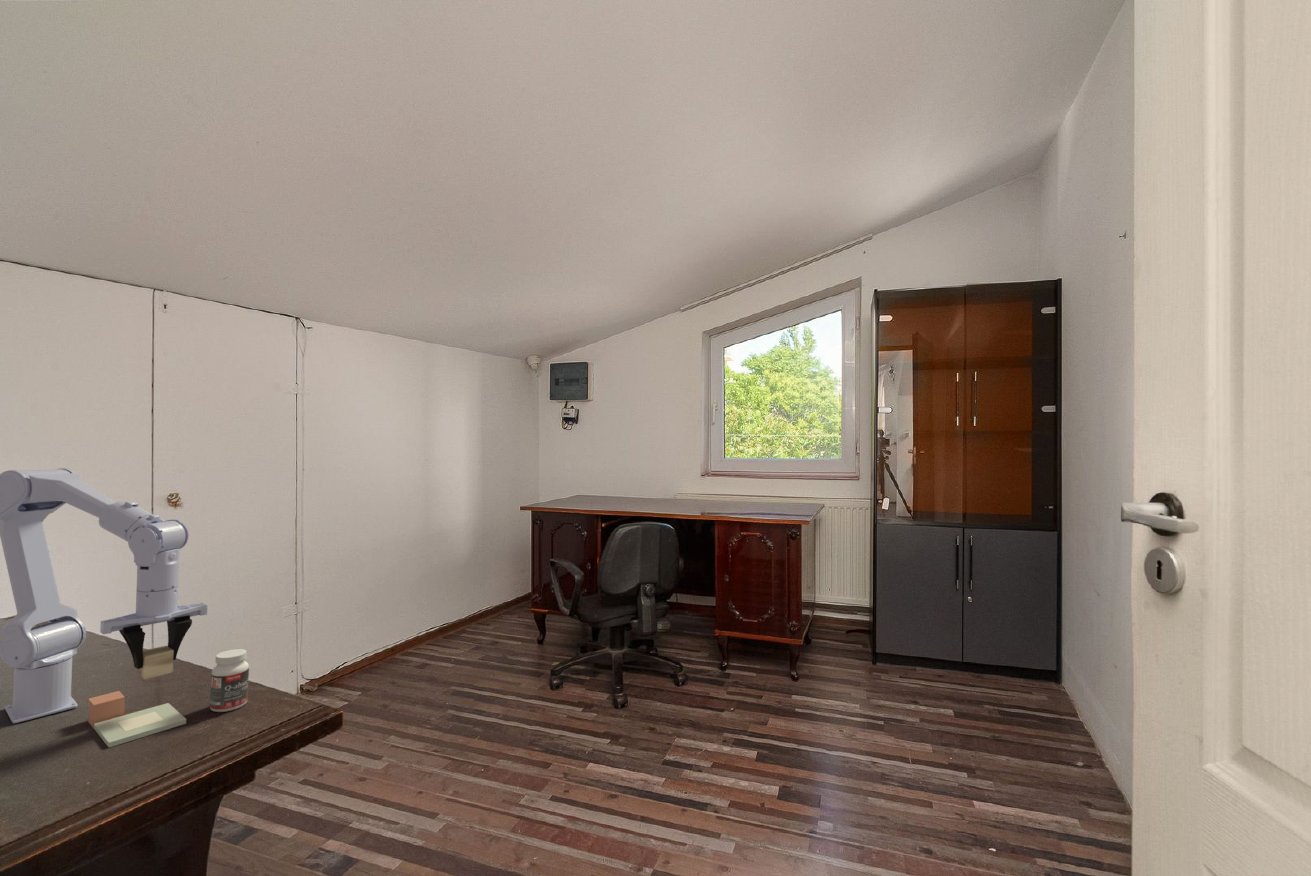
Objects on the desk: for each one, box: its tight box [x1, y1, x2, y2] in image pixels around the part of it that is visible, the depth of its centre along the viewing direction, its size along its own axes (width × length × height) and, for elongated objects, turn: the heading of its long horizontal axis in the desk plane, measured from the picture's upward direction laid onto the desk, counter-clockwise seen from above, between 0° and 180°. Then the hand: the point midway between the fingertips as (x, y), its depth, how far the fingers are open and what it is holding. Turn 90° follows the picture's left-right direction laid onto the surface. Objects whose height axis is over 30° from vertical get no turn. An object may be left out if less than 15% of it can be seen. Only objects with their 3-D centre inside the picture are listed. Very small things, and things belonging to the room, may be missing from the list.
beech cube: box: [136, 644, 174, 681], centre depth 102 cm, size 4×4×4 cm
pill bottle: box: [209, 648, 250, 713], centre depth 106 cm, size 6×6×10 cm
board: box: [93, 702, 187, 748], centre depth 98 cm, size 10×10×1 cm
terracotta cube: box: [87, 690, 126, 729], centre depth 100 cm, size 4×4×4 cm
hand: (155, 663), depth 102 cm, fingers closed on beech cube, 4 cm apart
